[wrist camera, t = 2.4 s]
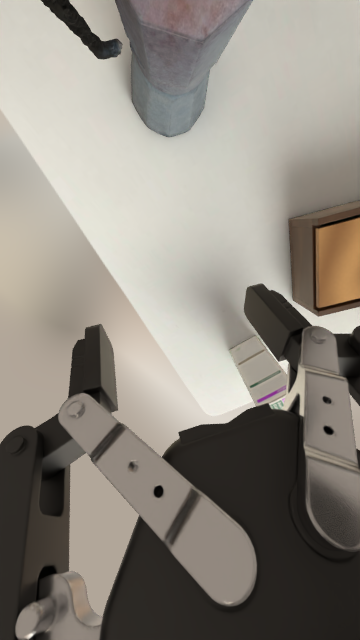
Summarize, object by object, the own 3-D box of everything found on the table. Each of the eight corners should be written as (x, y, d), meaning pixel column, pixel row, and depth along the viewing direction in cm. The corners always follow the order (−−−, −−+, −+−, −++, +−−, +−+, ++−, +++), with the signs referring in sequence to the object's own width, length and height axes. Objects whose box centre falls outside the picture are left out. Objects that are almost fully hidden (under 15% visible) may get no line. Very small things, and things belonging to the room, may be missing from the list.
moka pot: (237, 120, 28) (360, -68, 10) (122, 162, 29) (43, 64, 11) (220, 13, 24) (369, -611, 6) (89, 66, 26) (-111, -320, 7)
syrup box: (227, 349, 42) (254, 410, 28) (256, 333, 40) (298, 388, 27) (241, 370, 44) (272, 436, 30) (269, 356, 42) (314, 417, 29)
